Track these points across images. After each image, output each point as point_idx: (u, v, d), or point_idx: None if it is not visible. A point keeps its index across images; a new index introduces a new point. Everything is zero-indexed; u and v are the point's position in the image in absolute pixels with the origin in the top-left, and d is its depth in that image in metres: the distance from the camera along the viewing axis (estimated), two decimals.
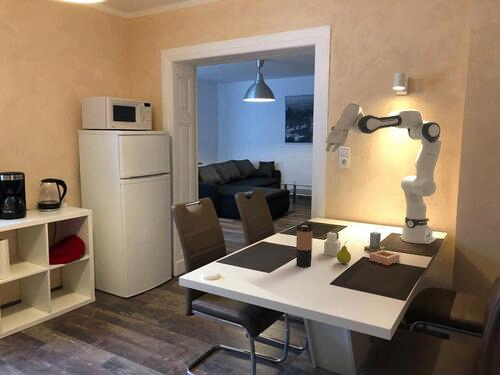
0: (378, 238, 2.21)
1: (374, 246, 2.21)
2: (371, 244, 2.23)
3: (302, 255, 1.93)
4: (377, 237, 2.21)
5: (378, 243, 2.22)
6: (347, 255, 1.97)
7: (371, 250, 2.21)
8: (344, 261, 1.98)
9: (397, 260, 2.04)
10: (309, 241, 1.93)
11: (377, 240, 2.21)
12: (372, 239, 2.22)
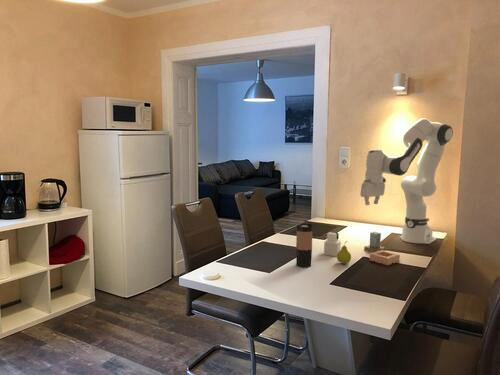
0: (378, 238, 2.21)
1: (374, 246, 2.21)
2: (371, 244, 2.23)
3: (302, 255, 1.93)
4: (377, 237, 2.21)
5: (378, 243, 2.22)
6: (347, 255, 1.97)
7: (371, 250, 2.21)
8: (344, 261, 1.98)
9: (397, 260, 2.04)
10: (309, 241, 1.93)
11: (377, 240, 2.21)
12: (372, 239, 2.22)
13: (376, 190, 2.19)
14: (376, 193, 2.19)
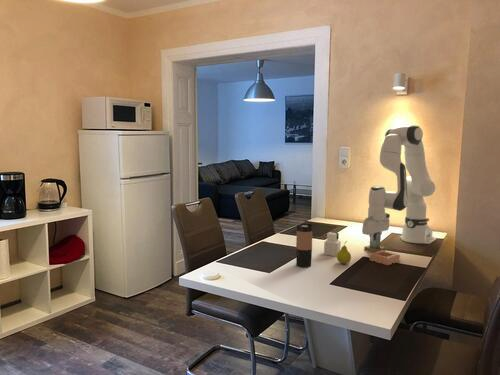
0: (378, 238, 2.21)
1: (374, 246, 2.21)
2: (371, 244, 2.23)
3: (302, 255, 1.93)
4: (377, 237, 2.21)
5: (378, 243, 2.22)
6: (347, 255, 1.97)
7: (371, 250, 2.21)
8: (344, 261, 1.98)
9: (397, 260, 2.04)
10: (309, 241, 1.93)
11: (377, 240, 2.21)
12: None
13: (379, 226, 2.21)
14: (379, 229, 2.21)
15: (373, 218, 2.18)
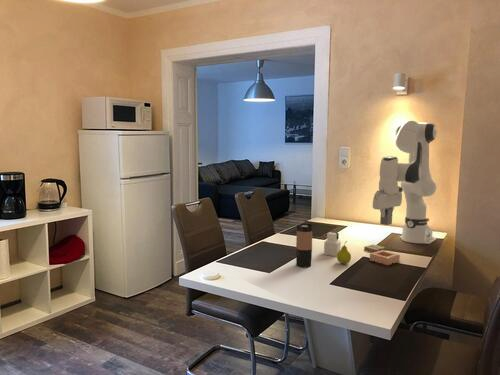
0: (390, 214, 2.01)
1: (385, 223, 2.01)
2: (382, 221, 2.02)
3: (302, 255, 1.93)
4: (389, 213, 2.00)
5: (390, 219, 2.02)
6: (347, 255, 1.97)
7: (371, 250, 2.21)
8: (344, 261, 1.98)
9: (397, 260, 2.04)
10: (309, 241, 1.93)
11: (389, 216, 2.01)
12: None
13: (391, 200, 2.01)
14: (391, 204, 2.01)
15: (385, 191, 1.98)
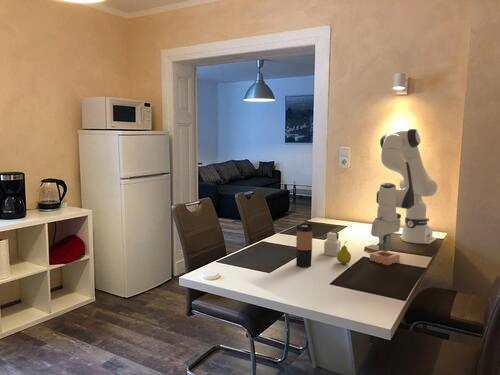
0: (388, 240, 2.03)
1: (384, 249, 2.03)
2: (380, 247, 2.04)
3: (302, 255, 1.93)
4: (387, 239, 2.02)
5: (388, 246, 2.03)
6: (347, 255, 1.97)
7: (371, 250, 2.21)
8: (344, 261, 1.98)
9: (397, 260, 2.04)
10: (309, 241, 1.93)
11: (387, 242, 2.02)
12: None
13: (390, 227, 2.03)
14: (389, 231, 2.03)
15: (383, 218, 1.99)
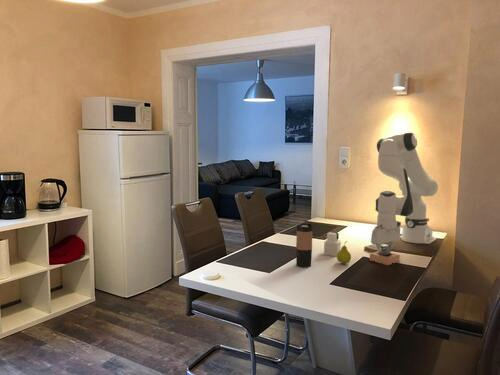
0: (388, 251, 2.04)
1: None
2: None
3: (302, 255, 1.93)
4: (387, 250, 2.03)
5: None
6: (347, 255, 1.97)
7: (371, 250, 2.21)
8: (344, 261, 1.98)
9: (397, 260, 2.04)
10: (309, 241, 1.93)
11: (387, 253, 2.03)
12: (381, 252, 2.04)
13: (390, 235, 2.03)
14: (389, 239, 2.03)
15: (383, 227, 2.00)
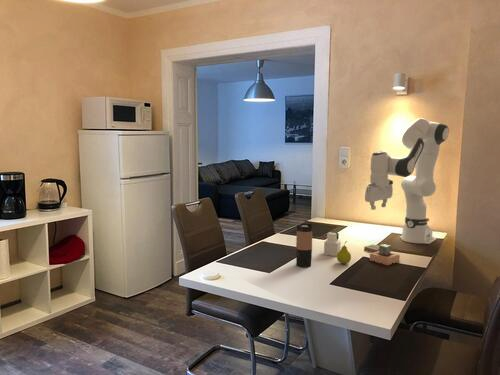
0: (388, 251, 2.04)
1: None
2: None
3: (302, 255, 1.93)
4: (387, 250, 2.03)
5: None
6: (347, 255, 1.97)
7: (371, 250, 2.21)
8: (344, 261, 1.98)
9: (397, 260, 2.04)
10: (309, 241, 1.93)
11: (387, 253, 2.03)
12: (381, 252, 2.04)
13: (383, 193, 2.12)
14: (382, 196, 2.12)
15: (376, 185, 2.08)
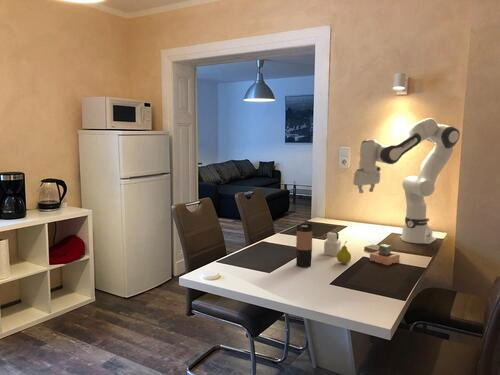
0: (388, 251, 2.04)
1: None
2: None
3: (302, 255, 1.93)
4: (387, 250, 2.03)
5: None
6: (347, 255, 1.97)
7: (371, 250, 2.21)
8: (344, 261, 1.98)
9: (397, 260, 2.04)
10: (309, 241, 1.93)
11: (387, 253, 2.03)
12: (381, 252, 2.04)
13: (370, 178, 2.28)
14: (370, 181, 2.28)
15: (364, 170, 2.25)
